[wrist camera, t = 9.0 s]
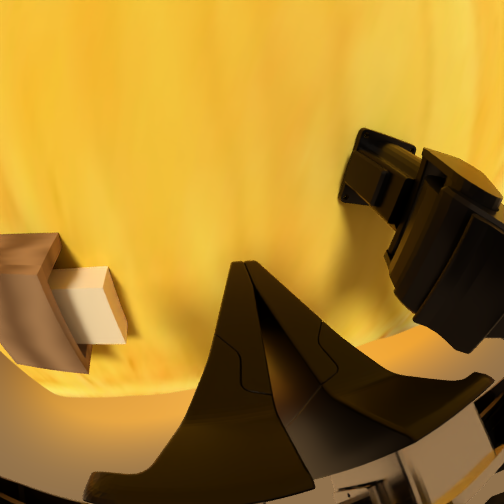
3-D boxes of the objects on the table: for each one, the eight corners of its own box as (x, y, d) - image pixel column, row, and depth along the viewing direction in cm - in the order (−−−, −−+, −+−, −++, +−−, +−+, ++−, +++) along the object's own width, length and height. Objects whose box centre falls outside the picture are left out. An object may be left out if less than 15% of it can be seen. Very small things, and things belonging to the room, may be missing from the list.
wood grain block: (58, 232, 18) (36, 275, 14) (93, 335, 26) (88, 373, 22) (-21, 235, 15) (-44, 270, 11) (26, 329, 23) (16, 363, 19)
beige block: (108, 263, 21) (102, 287, 19) (128, 320, 26) (126, 343, 24) (22, 268, 19) (11, 290, 17) (51, 321, 24) (45, 342, 22)
